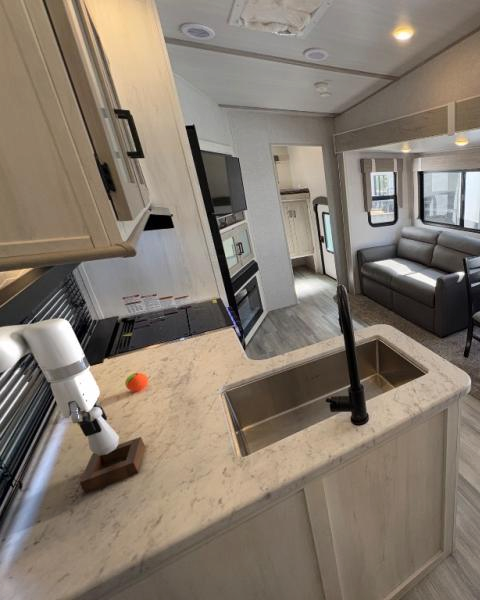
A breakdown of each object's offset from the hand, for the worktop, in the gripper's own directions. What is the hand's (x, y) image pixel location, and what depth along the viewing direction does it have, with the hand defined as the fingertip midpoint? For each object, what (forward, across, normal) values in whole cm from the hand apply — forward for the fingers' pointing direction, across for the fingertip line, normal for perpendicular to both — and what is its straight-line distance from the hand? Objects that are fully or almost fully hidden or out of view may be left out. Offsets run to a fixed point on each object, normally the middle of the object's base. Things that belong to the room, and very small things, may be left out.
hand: (96, 426), depth 81 cm
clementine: (+15, -45, -2) cm, 47 cm away
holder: (+15, 0, 0) cm, 15 cm away
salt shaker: (+8, 0, 0) cm, 8 cm away
